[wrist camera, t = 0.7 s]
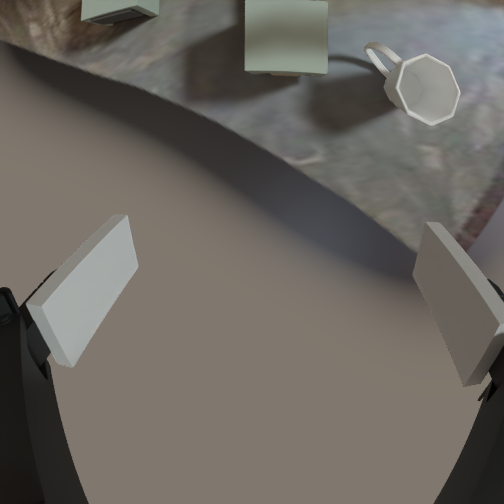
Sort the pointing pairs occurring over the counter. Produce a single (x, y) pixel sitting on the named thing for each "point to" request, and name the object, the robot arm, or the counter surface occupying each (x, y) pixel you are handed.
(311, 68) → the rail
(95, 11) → the block
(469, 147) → the counter surface
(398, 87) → the cup
